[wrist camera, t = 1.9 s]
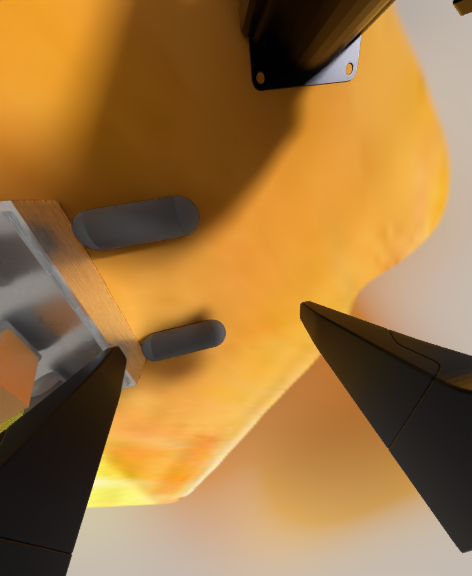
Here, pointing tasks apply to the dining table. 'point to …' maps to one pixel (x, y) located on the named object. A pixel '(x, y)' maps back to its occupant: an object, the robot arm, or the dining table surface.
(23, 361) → the orange rectangular block
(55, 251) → the strip
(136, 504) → the dining table surface
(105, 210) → the cable
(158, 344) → the cable
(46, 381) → the paddle
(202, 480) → the dining table surface
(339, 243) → the dining table surface
